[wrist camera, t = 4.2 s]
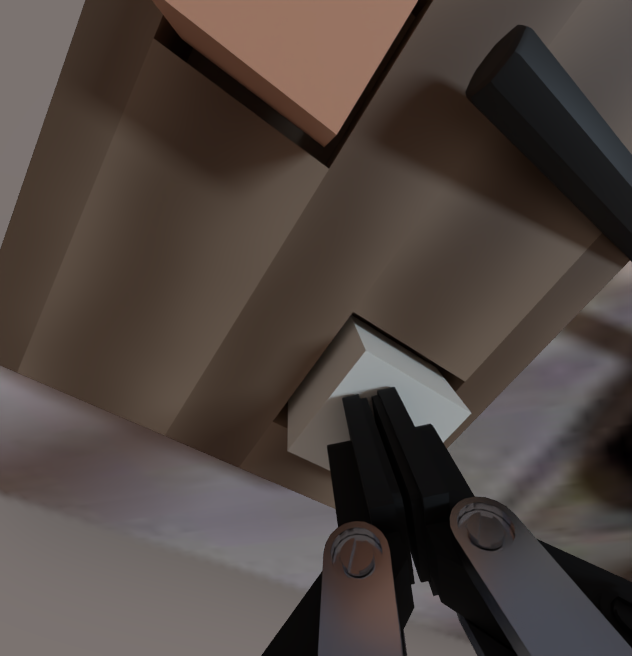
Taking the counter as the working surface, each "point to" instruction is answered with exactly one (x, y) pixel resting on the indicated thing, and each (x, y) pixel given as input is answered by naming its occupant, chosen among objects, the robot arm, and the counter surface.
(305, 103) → the terracotta key
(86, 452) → the counter surface
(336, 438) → the cream key
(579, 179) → the frying pan
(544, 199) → the brown wooden flat board
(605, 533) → the counter surface
